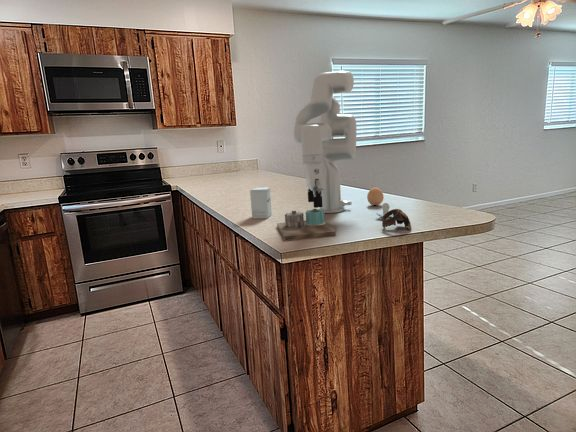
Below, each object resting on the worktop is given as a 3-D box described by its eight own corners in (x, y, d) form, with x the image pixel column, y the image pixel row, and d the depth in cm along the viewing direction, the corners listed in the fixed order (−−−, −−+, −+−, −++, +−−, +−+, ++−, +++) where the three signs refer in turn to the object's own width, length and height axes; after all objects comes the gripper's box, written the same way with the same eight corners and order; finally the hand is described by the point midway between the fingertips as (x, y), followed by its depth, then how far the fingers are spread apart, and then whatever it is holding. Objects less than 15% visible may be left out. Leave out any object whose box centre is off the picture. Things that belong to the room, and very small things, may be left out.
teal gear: (322, 220, 153) (321, 208, 152) (326, 224, 147) (326, 212, 146) (304, 221, 153) (304, 210, 152) (308, 225, 146) (307, 213, 145)
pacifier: (396, 220, 154) (393, 216, 159) (397, 205, 152) (394, 201, 158) (377, 221, 154) (375, 217, 160) (377, 206, 153) (375, 202, 158)
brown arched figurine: (412, 234, 135) (401, 215, 133) (388, 243, 140) (376, 225, 138) (414, 217, 145) (404, 199, 143) (391, 227, 150) (380, 209, 148)
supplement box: (268, 218, 169) (266, 189, 167) (251, 218, 171) (249, 189, 168) (272, 214, 176) (270, 186, 174) (256, 214, 178) (254, 187, 175)
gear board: (322, 222, 156) (321, 205, 155) (335, 235, 137) (335, 215, 135) (277, 226, 154) (276, 209, 152) (284, 240, 135) (283, 220, 133)
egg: (386, 204, 183) (386, 186, 181) (378, 207, 178) (378, 189, 176) (372, 203, 188) (372, 185, 186) (364, 206, 183) (364, 188, 181)
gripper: (328, 160, 137) (330, 208, 141) (317, 156, 153) (319, 198, 158) (307, 162, 136) (310, 210, 140) (298, 157, 152) (301, 200, 157)
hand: (315, 204), depth 149 cm, fingers open, 9 cm apart
